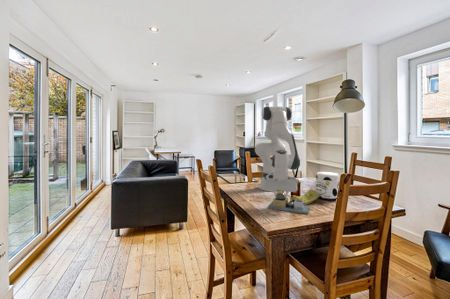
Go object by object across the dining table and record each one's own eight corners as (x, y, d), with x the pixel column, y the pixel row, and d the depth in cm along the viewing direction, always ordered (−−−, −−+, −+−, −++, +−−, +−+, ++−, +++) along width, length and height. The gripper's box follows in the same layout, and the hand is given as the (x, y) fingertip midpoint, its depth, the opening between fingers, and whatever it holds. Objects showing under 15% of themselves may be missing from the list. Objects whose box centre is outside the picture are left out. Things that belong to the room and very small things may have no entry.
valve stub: (277, 201, 159) (278, 189, 158) (284, 202, 157) (285, 189, 156) (276, 202, 155) (276, 190, 154) (283, 203, 153) (283, 191, 152)
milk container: (312, 199, 175) (313, 174, 173) (315, 193, 190) (316, 170, 189) (338, 202, 167) (340, 176, 165) (340, 196, 182) (341, 172, 181)
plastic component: (303, 203, 157) (292, 193, 164) (299, 211, 161) (288, 202, 167) (321, 196, 169) (310, 187, 176) (317, 204, 172) (306, 195, 179)
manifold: (272, 203, 164) (272, 195, 164) (309, 208, 154) (310, 199, 154) (268, 208, 153) (268, 199, 153) (307, 214, 143) (308, 205, 143)
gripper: (298, 176, 153) (298, 197, 154) (267, 173, 161) (266, 194, 163) (297, 178, 147) (296, 200, 148) (264, 175, 156) (264, 196, 157)
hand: (280, 197), depth 156 cm, fingers closed on valve stub, 4 cm apart
